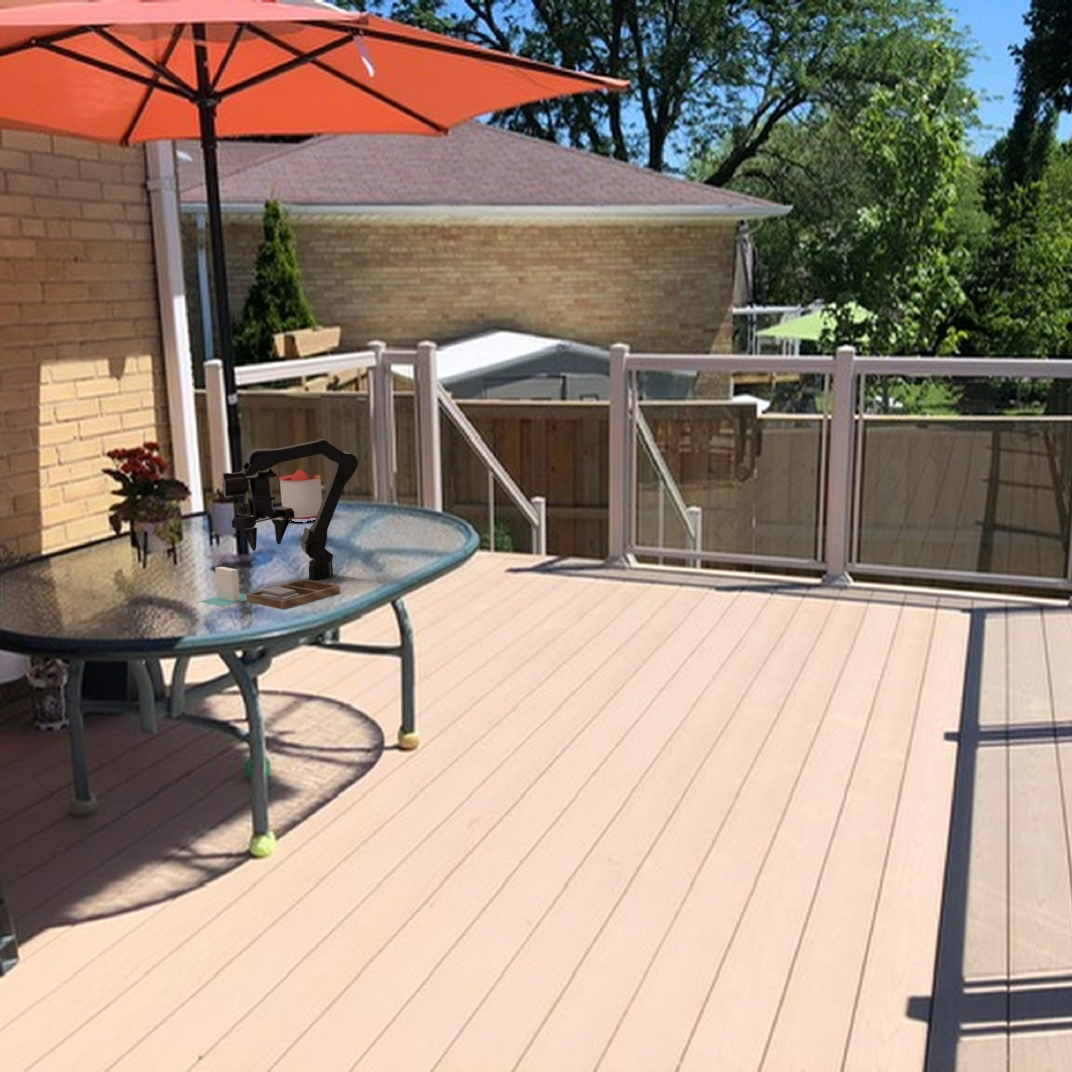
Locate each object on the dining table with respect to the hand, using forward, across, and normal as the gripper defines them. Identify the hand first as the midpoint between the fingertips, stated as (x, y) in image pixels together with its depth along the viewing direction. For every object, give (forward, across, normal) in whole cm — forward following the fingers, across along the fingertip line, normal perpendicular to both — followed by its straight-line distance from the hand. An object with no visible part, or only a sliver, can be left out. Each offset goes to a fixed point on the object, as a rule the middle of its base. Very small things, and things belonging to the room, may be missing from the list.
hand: (266, 547), depth 318 cm
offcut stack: (+11, +12, +18) cm, 24 cm away
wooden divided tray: (+12, +7, +18) cm, 23 cm away
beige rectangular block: (+10, +18, +4) cm, 21 cm away
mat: (+12, +18, +4) cm, 22 cm away
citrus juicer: (+13, -79, -72) cm, 108 cm away
